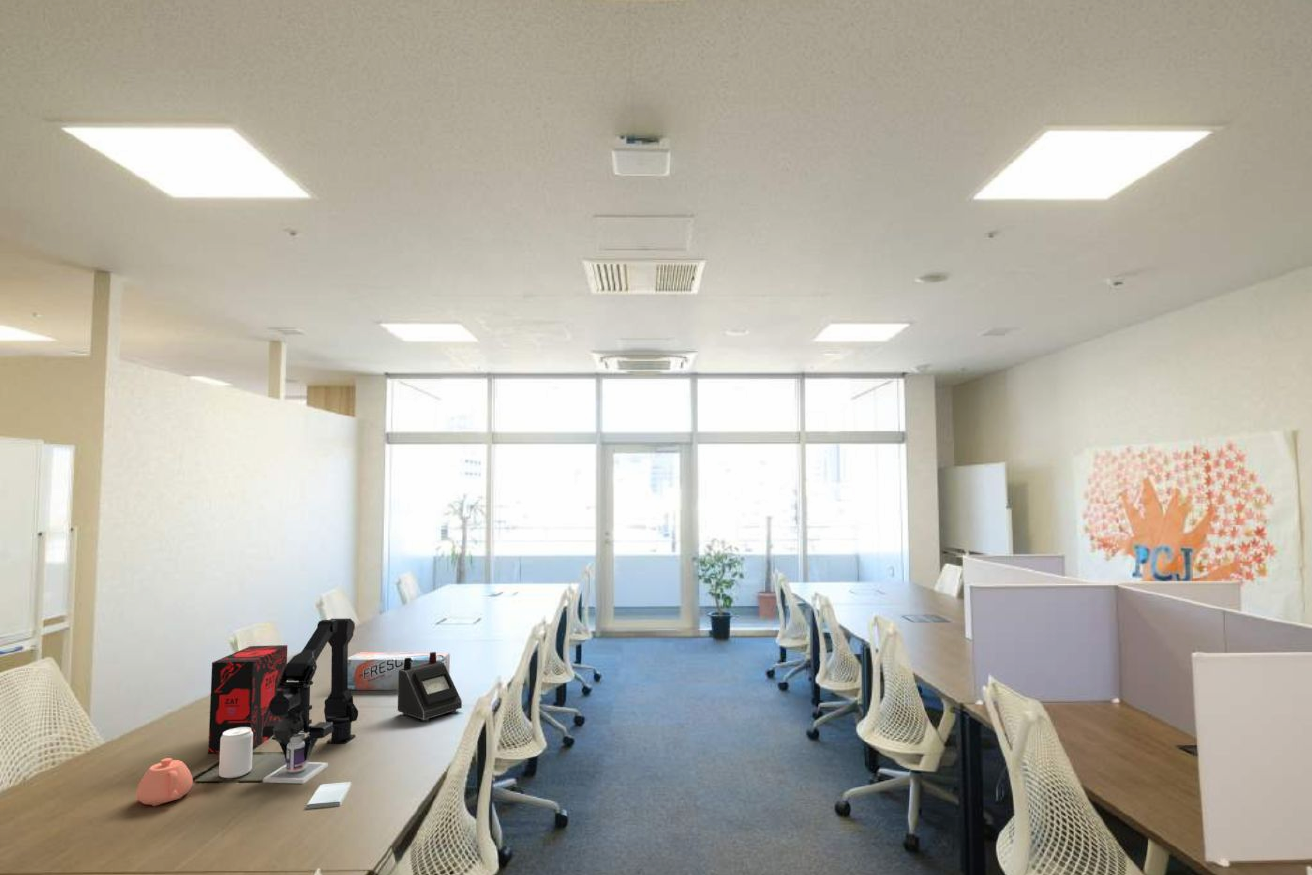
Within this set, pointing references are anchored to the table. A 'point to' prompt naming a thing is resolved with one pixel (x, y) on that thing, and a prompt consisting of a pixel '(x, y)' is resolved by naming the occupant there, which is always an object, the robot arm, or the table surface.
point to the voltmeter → (426, 690)
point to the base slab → (295, 774)
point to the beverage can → (236, 752)
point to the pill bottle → (296, 754)
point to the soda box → (384, 668)
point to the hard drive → (329, 795)
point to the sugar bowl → (164, 782)
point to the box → (245, 692)
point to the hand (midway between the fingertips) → (297, 759)
